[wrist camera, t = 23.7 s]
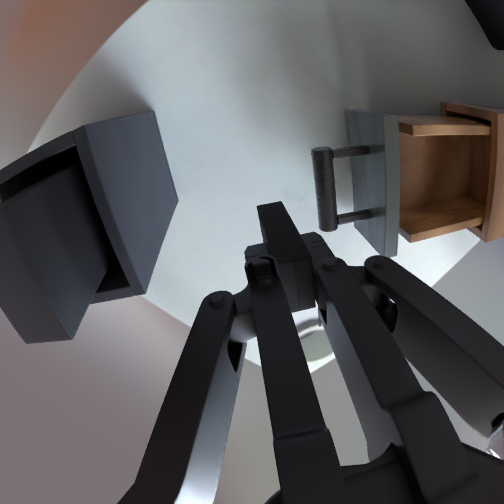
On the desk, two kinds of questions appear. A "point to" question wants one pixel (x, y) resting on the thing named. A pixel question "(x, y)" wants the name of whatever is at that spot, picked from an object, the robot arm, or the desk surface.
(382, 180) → the drawer
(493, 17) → the electronic device
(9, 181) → the caddy
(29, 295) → the block
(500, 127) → the cabinet
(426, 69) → the desk surface
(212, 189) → the desk surface
